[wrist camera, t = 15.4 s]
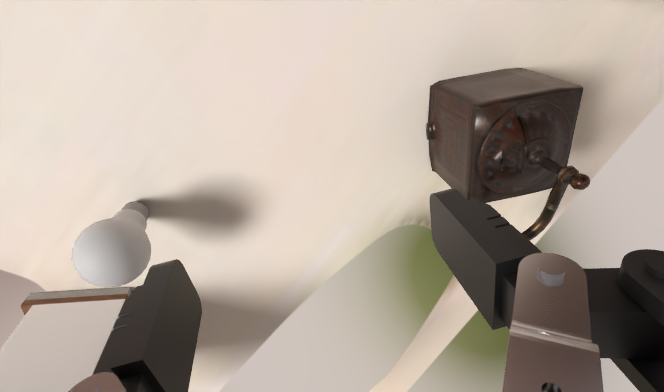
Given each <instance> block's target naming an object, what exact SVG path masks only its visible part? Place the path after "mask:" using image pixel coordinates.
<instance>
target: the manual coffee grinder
mask: <svg viewBox="0 0 664 392" xmlns="http://www.w3.org/2000/svg"><path fill="white" fill-rule="evenodd" d="M582 92H583V87H581V86H579V85H576V84H572V83H569V82H566V81H562V80H559V79H556V78H552V77H549V76H545V75H542V74H538V73H535V72H531V71H527V70H524V69H522V68H516V69H504V70H497V71H491V72H486V73H480V74H474V75H469V76H463V77H457V78H452V79H447V80H442V81H439V82H437V83H435V84H433V85H431V86H430V100H429V114H428V123H427V127H426V133H427V139H429V156H430V161H431V166H432V171H434V172H436V173H437V174H438V175H439V176H440V177H441V178H442V179H443V180H444V181H445V182H446V183H447V184H448V185H449V186H450V187H451V188H452V189H453V188H455V189H457V190H458V191H459V192H460V193H461V194H462V195H463V196H464V197H465V198H466V199H467V200H468V201H469V200H473V199H476V200H479V201H481V202H483V203H487V202H492V201H497V200H502V199H507V198H512V197H517V196H521V195H526V194H530V193H535V192H539V191H543V190H546V189H550V188H553V189H552V190H551V192H550V195H549V197H548V200H547V202H546V205H545V207H544V209H543V211H542V213H541V215H540V217H539V218H538V219H537V220H536V222H535V223H534V224H533V225H532V226H531V227H529V228H528V229H527V230H526V231H524V232H523V233H521V234H522V235H523V236H525V237H526V238H527V239H528V240H529V241H530V240H531V239H533V238H534V237H536V236H537V235H538V234H539V233H540V232H542V231H543V230H544V229H545V227H546V226H547V225H548V224H549V222H550V221H551V219H552V217H553V215H554V214H555V212H556V210H557V208H558V206H559V203H560V201H561V199H562V197H563V195H564V192H565V190H566V188H567V186H568V184H570V185H571V186H572V187H573V188H574V189H580V190H581V189H585V188H586V187H588V186H589V184H590V179H589V177H588V176H587V175H584V174H581V173H579V171H578V170H576V169H575V168H574V167H573V166H567V163H568V158H569V153H570V149H571V144H572V139H573V134H574V129H575V125H576V120H577V115H578V110H579V106H580V101H581V96H582Z"/></svg>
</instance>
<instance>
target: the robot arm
mask: <svg viewBox="0 0 664 392" xmlns="http://www.w3.org/2000/svg"><path fill="white" fill-rule="evenodd" d="M430 213H431V228H432V237H433V241H434V244H435V247H436V249H437V251H438V252H439V254H440V255H441V257H442V258H443V260H444V261H445V262H446V264H447V265H448V267H449V268H450V270H451V271H452V272H453V274H454V275H455V277H456V278H457V280H458V281H459V282H460V284H461V285H462V287H463V288H464V290H465V291H466V292H467V294H468V295H469V297H470V298H471V300H472V301H473V302H474V304H475V305H476V307H477V308H478V310H479V311H480V312H481V314H482V315H483V317H484V318H485V319H486V321H487V322H488V324H489V325H490V327H491V328H492V329H493V330H494V329H498V328H501V327H505V326H507V327H508V328H509V329H510V335H509V343H508V351H507V359H506V367H505V375H504V384H503V392H603V382H602V372H601V361H600V358H610V359H611V360H612V361H613V362H614V363H615V364H616V365H617V367H618V368H619V369H620V370H621V371H622V372H623V373H624V374H625V376H626V377H627V378H628V379H629V380H630V381H631V382H632V383H633V385H634V386H635V387H636V388H637V389H638V390H639V391H640V392H664V252H663V251H658V250H647V249H646V250H636V251H632V252H630V253H628V254H626V255H625V256H624V258H623V260H622V264H621V267H620V268H600V269H582V267H581V266H579V265H578V264H577V263H576V262H574V261H573V260H571V259H569V258H567V257H564V256H561V255H558V254H553V253H542V252H541V251H540V250H539V249H538V248H537V247H536V246H534V245H533V244H532V243H531V242H530V241H529V240H528V239H527V238H526V237H525V236H523V235H522V234H521V233H520V232H519V231H518V230H517V229H516V228H515V227H513V226H512V225H510V224H509V222H508V221H507V220H506V219H505V218H504V217H501V215H500V214H499V213H498V212H497V211H496V210H495V209H494V208H492V207H491V206H490V205H488V204H486V203H483V202H481V201H479V200H476V199H473V200H469V201H468V200H467V199H466V198H465V197H464V196H463V195H462V194H461V193H460V192H459V191H458V190H457V189H455V188H453V189H449V190H445V191H441V192H437V193H433V194H431V195H430ZM201 314H202V308H201V302H200V298H199V295H198V293H197V291H196V289H195V287H194V286H193V284H192V282H191V280H190V278H189V276H188V274H187V272H186V270H185V268H184V266H183V264H182V263H181V262H180V261H179V260H177V259H176V260H172V261H169V262H165V263H161V264H157V265H153V266H151V267H150V269H149V272H148V274H147V277H146V279H145V282H144V284H143V285H142V286H138V287H136V289H135V290H134V291H133V292H132V293H131V294H130V295H129V297H128V298H127V299H126V300H125V301H124V304H123V306H122V308H121V311H120V313H119V315H118V316H119V318H117V320H116V322H115V324H114V326H113V331H111V333H110V336H109V338H108V340H107V342H106V345H105V347H104V349H103V352H102V354H101V356H100V358H99V361H98V363H97V365H96V368H95V370H94V372H93V374H92V376H89V377H87V378H86V379H84V380H82V381H81V382H79V383H78V384H76V385H75V386H74V387H73V388H71V389H70V390H69V391H68V392H188V388H189V382H190V376H191V371H192V365H193V359H194V354H195V348H196V343H197V337H198V331H199V326H200V320H201Z"/></svg>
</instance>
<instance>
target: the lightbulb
mask: <svg viewBox="0 0 664 392" xmlns="http://www.w3.org/2000/svg"><path fill="white" fill-rule="evenodd" d="M148 214H149V212H148V209H147V207H146V206H145V205H143V204H141V203H139V202H130V203H128V204H126V205H125V206H124V207H123V208H122V210H121V211H119V212H117V213H116V214H115V215H114V216H113V218H110V219H105V220H102V221H98V222H95V223H94V224H92V225H90V226H89V227H87V228H86V229H85V230H83V231H82V232H81V233H80V235H79V236H78V237H77V239H76V240H75V243H74V246H73V249H72V263H73V266H74V268H75V270H76V272H77V273H78V274H79V275H80V277H82V278H83V279H84V280H85V281H87V282H88V283H90V284H92V285H95V286H99V287H117V286H121V285H124V284H127V283H129V282H131V281H133V280H134V279H136V278H137V277H138V276H139V275H140V274H141V273H142V272H143V271H144V270H145V268H146V267H147V265H148V263H149V260H150V256H151V244H150V241H149V239H148V236H147V234H146V233H145V229H146V226H147V222H146V221H147V218H148Z"/></svg>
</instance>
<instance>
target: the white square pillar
mask: <svg viewBox="0 0 664 392" xmlns="http://www.w3.org/2000/svg"><path fill="white" fill-rule="evenodd" d="M131 293H132V292H131V288H130V287H121V288H104V289H88V290H71V291H55V292H38V293H30V294H29V296H28V297H27V298H26V300H25V301H24V302H23V304H22V305H21V308H22V310H23V312H24V314H25V316H24V318H23V319H22V320H21V322H20V323H19V324H18V326H17V327H16V329H15V330H14V331H13V333H12V334H11V335H10V337H9V338H8V339H7V341H6V342H5V344H4V345H3V346H2V348H1V349H0V392H68V391H69V390H70V389H71V388H73V387H74V386H75V385H76V384H78V383H79V382H81V381H82V380H84V379H86V378H87V377H89V376H92V374H93V372H94V370H95V368H96V365H97V363H98V361H99V358H100V356H101V354H102V352H103V349H104V347H105V345H106V342H107V340H108V338H109V336H110V333H111V331H113V326H114V324H115V322H116V320H117V318H119V316H118V315H119V313H120V311H121V308H122V306H123V304H124V301H125V300H126V299H127V298H128V297H129V295H130V294H131Z"/></svg>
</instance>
